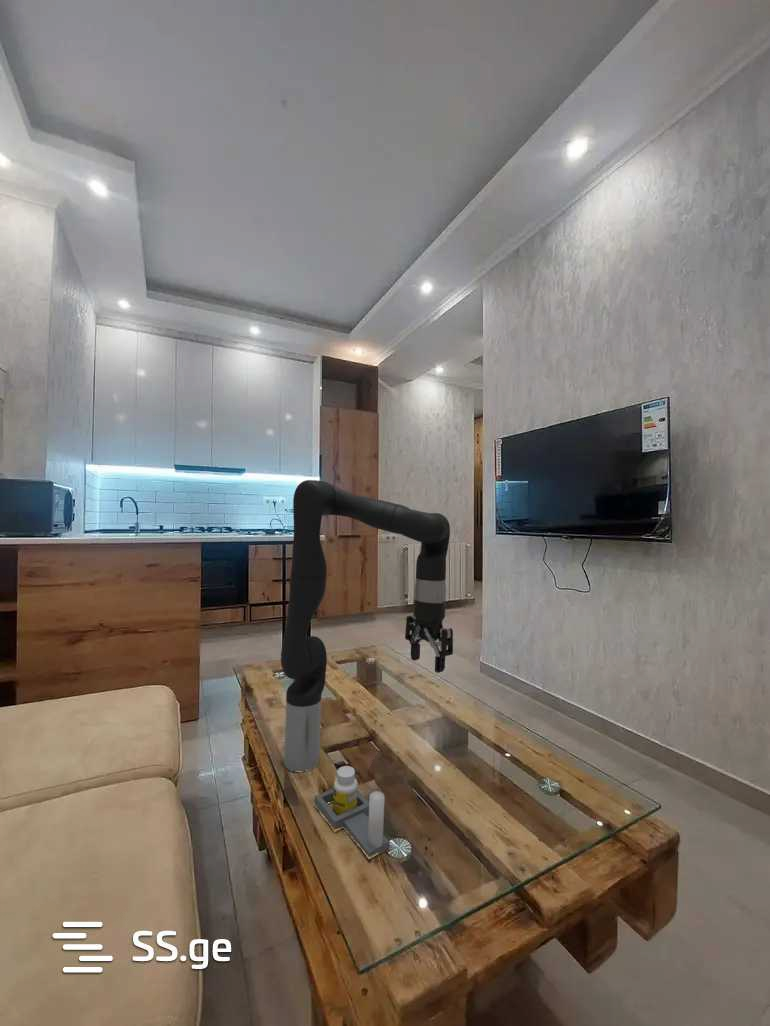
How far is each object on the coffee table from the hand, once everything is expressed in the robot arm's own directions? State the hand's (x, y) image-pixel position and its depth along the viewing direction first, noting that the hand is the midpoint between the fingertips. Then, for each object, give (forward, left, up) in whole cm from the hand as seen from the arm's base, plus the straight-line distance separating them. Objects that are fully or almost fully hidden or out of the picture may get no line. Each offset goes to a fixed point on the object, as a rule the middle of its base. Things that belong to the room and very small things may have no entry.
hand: (426, 665), depth 102 cm
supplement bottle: (-6, -18, -32) cm, 37 cm away
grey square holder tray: (-1, -18, -32) cm, 37 cm away
